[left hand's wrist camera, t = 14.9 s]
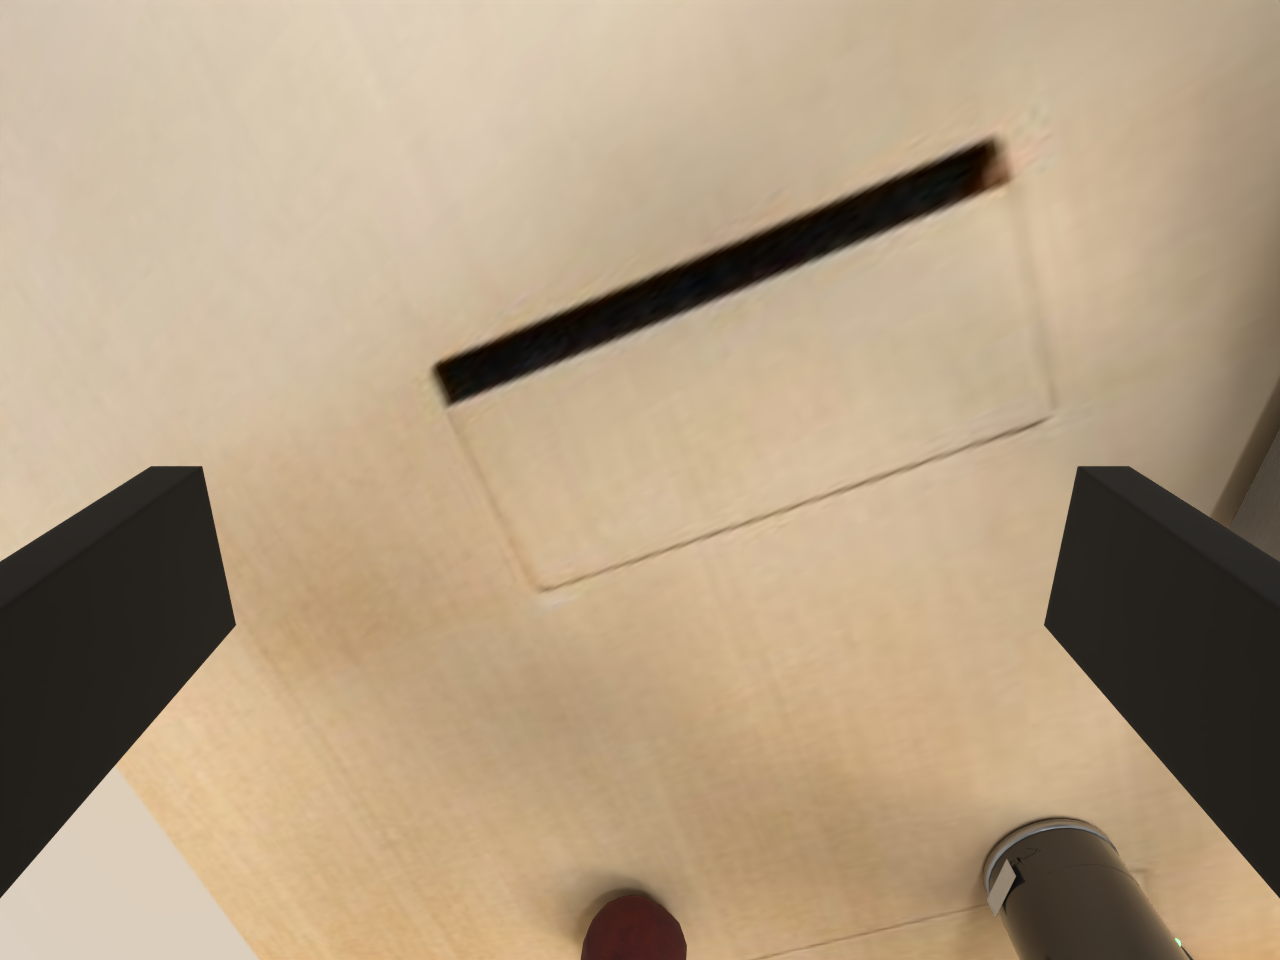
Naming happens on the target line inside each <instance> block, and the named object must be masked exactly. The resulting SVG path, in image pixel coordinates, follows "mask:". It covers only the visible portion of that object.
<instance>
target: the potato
mask: <svg viewBox="0 0 1280 960" xmlns="http://www.w3.org/2000/svg"><path fill="white" fill-rule="evenodd" d="M686 951H687V945H686V942H685V938H684V935H683V932H682V929H681V927H680V924H679V922H678V921H677V920H676V919H675V918H674V917H673V916H672V915H671V914H670V913H669V912H668V911H667V910H666V909H665V908H664V907H663V906H661V905H660V904H658V903H656V902H654V901H652V900H650V899H648V898H646V897H642V896H637V895H632V896H623V897H620V898H617V899H615V900H613V901H611V902H609V903H607V904H606V905H605V906H604V907H603V908H602V909H601V910H600V911H599V913H598V914H597V915H596V916H595V917H594V919H593V921H592V923H591V925H590V927H589V929H588V932H587V934H586V937H585V939H584V942H583V948H582V954H581V960H686Z"/></svg>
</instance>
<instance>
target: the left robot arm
mask: <svg viewBox="0 0 1280 960" xmlns="http://www.w3.org/2000/svg"><path fill="white" fill-rule="evenodd" d="M235 626H236V623H235V618H234V614H233V609H232V604H231V600H230V595H229V590H228V586H227V581H226V576H225V571H224V567H223V562H222V557H221V553H220V548H219V543H218V539H217V534H216V529H215V525H214V520H213V515H212V510H211V506H210V501H209V496H208V492H207V487H206V482H205V478H204V473H203V468H202V466H151V467H149V468H148V469H146V470H144V471H143V472H141V473H140V474H138V475H137V476H135V477H133V478H132V479H130V480H129V481H127V482H126V483H124V484H122V485H121V486H119V487H118V488H116V489H114V490H113V491H111V492H110V493H108V494H107V495H105V496H103V497H102V498H100V499H99V500H97V501H95V502H94V503H92V504H91V505H89V506H88V507H86V508H84V509H83V510H81V511H80V512H78V513H77V514H75V515H73V516H72V517H70V518H69V519H67V520H65V521H64V522H62V523H61V524H59V525H58V526H56V527H54V528H53V529H51V530H50V531H48V532H47V533H45V534H43V535H42V536H40V537H39V538H37V539H35V540H34V541H32V542H31V543H29V544H28V545H26V546H24V547H23V548H21V549H20V550H18V551H16V552H15V553H13V554H12V555H10V556H9V557H7V558H5V559H4V560H2V561H1V562H0V898H1V897H2V896H3V894H4V893H5V892H6V891H7V890H8V889H9V888H10V886H11V885H12V884H13V883H14V882H15V881H16V879H17V878H18V877H19V876H20V875H21V874H22V872H23V871H24V870H25V869H26V868H27V867H28V866H29V864H30V863H31V862H32V861H33V860H34V859H35V857H36V856H37V855H38V854H39V853H40V852H41V850H42V849H43V848H44V847H45V846H46V845H47V843H48V842H49V841H50V840H51V839H52V838H53V837H54V835H55V834H56V833H57V832H58V831H59V830H60V828H61V827H62V826H63V825H64V824H65V823H66V821H67V820H68V819H69V818H70V817H71V816H72V815H73V813H74V812H75V811H76V810H77V809H78V808H79V806H80V805H81V804H82V803H83V802H84V801H85V799H86V798H87V797H88V796H89V795H90V794H91V793H92V791H93V790H94V789H95V788H96V787H97V786H98V784H99V783H100V782H101V781H102V780H103V779H104V777H105V776H106V775H107V774H108V773H109V772H110V770H111V769H112V768H113V767H114V766H115V765H116V764H117V762H118V761H119V760H120V759H121V758H122V757H123V755H124V754H125V753H126V752H127V751H128V750H129V748H130V747H131V746H132V745H133V744H134V743H135V742H136V740H137V739H138V738H139V737H140V736H141V735H142V733H143V732H144V731H145V730H146V729H147V728H148V726H149V725H150V724H151V723H152V722H153V721H154V720H155V718H156V717H157V716H158V715H159V714H160V713H161V711H162V710H163V709H164V708H165V707H166V706H167V704H168V703H169V702H170V701H171V700H172V699H173V697H174V696H175V695H176V694H177V693H178V692H179V691H180V689H181V688H182V687H183V686H184V685H185V684H186V682H187V681H188V680H189V679H190V678H191V677H192V675H193V674H194V673H195V672H196V671H197V670H198V669H199V667H200V666H201V665H202V664H203V663H204V662H205V660H206V659H207V658H208V657H209V656H210V655H211V653H212V652H213V651H214V650H215V649H216V648H217V647H218V645H219V644H220V643H221V642H222V641H223V640H224V638H225V637H226V636H227V635H228V634H229V633H230V631H231V630H232V629H233V628H234V627H235ZM1044 626H1045V627H1046V628H1047V629H1048V630H1049V631H1050V633H1051V634H1052V635H1053V636H1054V637H1055V638H1056V640H1057V641H1058V642H1059V643H1060V644H1061V645H1062V647H1063V648H1064V649H1065V650H1066V651H1067V652H1068V653H1069V655H1070V656H1071V657H1072V658H1073V659H1074V660H1075V662H1076V663H1077V664H1078V665H1079V666H1080V667H1081V669H1082V670H1083V671H1084V672H1085V673H1086V674H1087V675H1088V677H1089V678H1090V679H1091V680H1092V681H1093V682H1094V684H1095V685H1096V686H1097V687H1098V688H1099V689H1100V691H1101V692H1102V693H1103V694H1104V695H1105V696H1106V697H1107V699H1108V700H1109V701H1110V702H1111V703H1112V704H1113V706H1114V707H1115V708H1116V709H1117V710H1118V711H1119V713H1120V714H1121V715H1122V716H1123V717H1124V718H1125V720H1126V721H1127V722H1128V723H1129V724H1130V725H1131V726H1132V728H1133V729H1134V730H1135V731H1136V732H1137V733H1138V735H1139V736H1140V737H1141V738H1142V739H1143V740H1144V742H1145V743H1146V744H1147V745H1148V746H1149V747H1150V748H1151V750H1152V751H1153V752H1154V753H1155V754H1156V755H1157V757H1158V758H1159V759H1160V760H1161V761H1162V762H1163V764H1164V765H1165V766H1166V767H1167V768H1168V769H1169V770H1170V772H1171V773H1172V774H1173V775H1174V776H1175V777H1176V779H1177V780H1178V781H1179V782H1180V783H1181V784H1182V786H1183V787H1184V788H1185V789H1186V790H1187V791H1188V793H1189V794H1190V795H1191V796H1192V797H1193V798H1194V799H1195V801H1196V802H1197V803H1198V804H1199V805H1200V806H1201V808H1202V809H1203V810H1204V811H1205V812H1206V813H1207V815H1208V816H1209V817H1210V818H1211V819H1212V820H1213V821H1214V823H1215V824H1216V825H1217V826H1218V827H1219V828H1220V830H1221V831H1222V832H1223V833H1224V834H1225V835H1226V837H1227V838H1228V839H1229V840H1230V841H1231V842H1232V843H1233V845H1234V846H1235V847H1236V848H1237V849H1238V850H1239V852H1240V853H1241V854H1242V855H1243V856H1244V857H1245V859H1246V860H1247V861H1248V862H1249V863H1250V864H1251V866H1252V867H1253V868H1254V869H1255V870H1256V871H1257V872H1258V874H1259V875H1260V876H1261V877H1262V878H1263V879H1264V881H1265V882H1266V883H1267V884H1268V885H1269V886H1270V888H1271V889H1272V890H1273V891H1274V892H1275V893H1276V894H1277V896H1278V897H1279V898H1280V562H1279V561H1278V560H1276V559H1275V558H1273V557H1271V556H1270V555H1268V554H1267V553H1265V552H1264V551H1262V550H1260V549H1259V548H1257V547H1256V546H1254V545H1252V544H1251V543H1249V542H1248V541H1246V540H1245V539H1243V538H1241V537H1240V536H1238V535H1237V534H1235V533H1233V532H1232V531H1230V530H1229V529H1227V528H1226V527H1224V526H1222V525H1221V524H1219V523H1218V522H1216V521H1215V520H1213V519H1211V518H1210V517H1208V516H1207V515H1205V514H1203V513H1202V512H1200V511H1199V510H1197V509H1196V508H1194V507H1192V506H1191V505H1189V504H1188V503H1186V502H1185V501H1183V500H1181V499H1180V498H1178V497H1177V496H1175V495H1173V494H1172V493H1170V492H1169V491H1167V490H1166V489H1164V488H1162V487H1161V486H1159V485H1158V484H1156V483H1154V482H1153V481H1151V480H1150V479H1148V478H1147V477H1145V476H1143V475H1142V474H1140V473H1139V472H1137V471H1136V470H1134V469H1132V468H1131V467H1129V466H1078V468H1077V473H1076V478H1075V482H1074V487H1073V492H1072V496H1071V501H1070V506H1069V510H1068V515H1067V520H1066V525H1065V529H1064V534H1063V539H1062V543H1061V548H1060V553H1059V557H1058V562H1057V567H1056V571H1055V576H1054V581H1053V586H1052V590H1051V595H1050V600H1049V604H1048V609H1047V614H1046V618H1045V623H1044Z"/></svg>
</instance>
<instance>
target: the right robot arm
mask: <svg viewBox="0 0 1280 960" xmlns="http://www.w3.org/2000/svg"><path fill="white" fill-rule="evenodd" d="M983 882H984V887H985V890H986V892H987V894H988V898H987V901H988V904H989V906H990V908H991V910H992V912H993V914H994V916H995V917H996V915H997V913H998V914H999V916H1000V918H1001V920H1002V922H1003V925H1004V927H1005V929H1006V931H1007V933H1008V935H1009V938H1010V940H1011V942H1012V944H1013V946H1014V948H1015V950H1016V953H1017V955H1018V957H1019V959H1020V960H1193V959H1192V958H1191V957H1190V955H1189V954H1188V953H1187V952H1186V951H1185V949H1184V948H1183V947H1182V946H1181V944H1180V941H1179V940H1178V939H1175V938H1174V936H1173V935H1172V933H1171V932H1170V930H1169V929H1168V927H1167V926H1166V924H1165V923H1164V921H1163V920H1162V919H1161V917H1160V916H1159V914H1158V913H1157V911H1156V910H1155V908H1154V907H1153V905H1152V904H1151V903H1150V901H1149V900H1148V898H1147V897H1146V895H1145V894H1144V892H1143V891H1142V889H1141V888H1140V886H1139V884H1138V883H1137V882H1136V880H1135V879H1134V877H1133V876H1132V874H1131V873H1130V871H1129V870H1128V868H1127V867H1126V865H1125V864H1124V863H1123V861H1122V860H1121V858H1120V857H1119V854H1118V852H1117V850H1116V848H1115V847H1114V845H1113V844H1112V842H1111V841H1110V840H1109V838H1108V837H1107V836H1106V835H1105V834H1104V833H1103V832H1102V831H1101V830H1099V829H1098V828H1096V827H1094V826H1092V825H1090V824H1087V823H1085V822H1081V821H1077V820H1070V819H1053V820H1046V821H1041V822H1037V823H1033V824H1030V825H1028V826H1025V827H1023V828H1021V829H1019V830H1017V831H1015V832H1013V833H1012V834H1010V835H1009V836H1007V837H1006V838H1005V839H1004V840H1002V841H1001V842H1000V843H999V844H998V845H997V846H996V847H995V849H994V850H993V851H992V853H991V854H990V856H989V857H988V859H987V861H986V864H985V867H984V872H983Z"/></svg>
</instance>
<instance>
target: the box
mask: <svg viewBox="0 0 1280 960" xmlns="http://www.w3.org/2000/svg"><path fill="white" fill-rule="evenodd" d="M1229 530H1230V531H1232V532H1233V533H1235V534H1237V535H1238V536H1240V537H1241V538H1243V539H1245V540H1246V541H1248V542H1249V543H1251V544H1252V545H1254V546H1256V547H1257V548H1259V549H1260V550H1262V551H1264V552H1265V553H1267V554H1268V555H1270V556H1271V557H1273V558H1275V559H1276V560H1278V561H1279V562H1280V429H1279V431H1278V433H1277V435H1276V437H1275V439H1274V441H1273V443H1272V444H1271V446H1270V448H1269V450H1268V452H1267V454H1266V456H1265V458H1264V460H1263V462H1262V464H1261V466H1260V468H1259V470H1258V472H1257V474H1256V476H1255V478H1254V480H1253V482H1252V484H1251V486H1250V488H1249V489H1248V491H1247V493H1246V495H1245V497H1244V499H1243V501H1242V503H1241V505H1240V507H1239V509H1238V511H1237V513H1236V515H1235V517H1234V519H1233V521H1232V523H1231V525H1230V527H1229Z"/></svg>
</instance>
